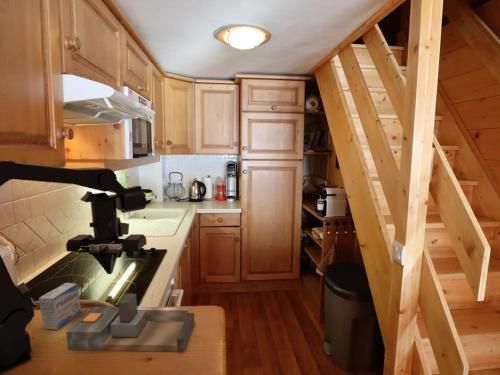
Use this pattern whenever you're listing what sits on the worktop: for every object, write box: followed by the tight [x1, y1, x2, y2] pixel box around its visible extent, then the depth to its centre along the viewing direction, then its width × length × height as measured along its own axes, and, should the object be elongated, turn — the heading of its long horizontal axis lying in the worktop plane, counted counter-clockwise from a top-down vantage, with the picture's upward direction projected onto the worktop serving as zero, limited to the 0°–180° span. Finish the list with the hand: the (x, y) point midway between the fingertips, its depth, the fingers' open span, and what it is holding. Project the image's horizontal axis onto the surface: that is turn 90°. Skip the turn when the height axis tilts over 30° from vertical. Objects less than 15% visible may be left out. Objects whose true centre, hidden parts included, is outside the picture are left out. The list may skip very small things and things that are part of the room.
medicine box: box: [38, 282, 82, 331], centre depth 74 cm, size 8×4×9 cm, turn 169°
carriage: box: [111, 293, 147, 337], centre depth 67 cm, size 6×6×8 cm
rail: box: [65, 305, 196, 353], centre depth 68 cm, size 26×10×4 cm, turn 88°
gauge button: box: [83, 313, 102, 323], centre depth 68 cm, size 3×3×4 cm
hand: (110, 273), depth 75 cm, fingers closed
